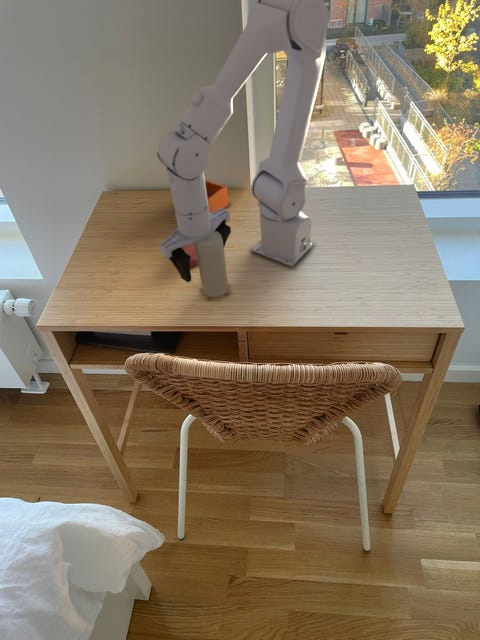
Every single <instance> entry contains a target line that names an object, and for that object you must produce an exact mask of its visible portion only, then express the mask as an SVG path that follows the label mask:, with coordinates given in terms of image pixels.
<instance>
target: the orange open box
mask: <svg viewBox="0 0 480 640" xmlns="http://www.w3.org/2000/svg"><path fill="white" fill-rule="evenodd" d="M205 185H206V192H207V199H208V206H209V213H211V212H214V211H217V210H219V209H221V208H223V209H225V208H226V207H227V206H229V195H228V186H226V185H223V184H220V183H217V182H214V181H210V180H209V179H208V180H207V179H205Z"/></svg>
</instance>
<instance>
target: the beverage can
mask: <svg viewBox="0 0 480 640" xmlns="http://www.w3.org/2000/svg"><path fill="white" fill-rule="evenodd" d="M195 248H196V254H197V260H198V264H197V265H198V270H199V277H200V281H201V283H200V284H201V287H202V292H203V294H204V295H206V296H207V297H210V298H220V297H223V296H224V295H225V294H226V293H227V292H228V291H229V280H228V272H227V264H226V257H225V256H226V255H225V247H224V246H223V239H222V236H221V234H220V233H219V232H217V231H214V232H213V233H212V234H211V235H210V236H209V237H207V238H206V239H204V240H202V241H198V242H196V243H195Z"/></svg>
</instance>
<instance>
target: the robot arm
mask: <svg viewBox="0 0 480 640" xmlns="http://www.w3.org/2000/svg"><path fill="white" fill-rule="evenodd" d="M330 19H331V12H330V10H329V8H328V6H327V4H326V2H325V0H256V1H254V3H253V4H252V5H251V6H250V7H249V10H248V14H247V21H246V25H245V27H244V29H243V31H242V33H241V34H240V36H239V38H238V39H237V41H236V44H235V45H234V47H233V48H232V49H231V50H232V51H231V52H230V54H229V55H228V58H227V59H226V61H225V62H224V64H223V66H222V68H221V70H220V71H219V73H218V75H217V77H216V79H215V81H214V83H213V84H210V85H207V86H203V87H201V88H200V89H199V91H198V92H194V94H193V95H192V97H191V98H190V101H191V104H190V105H189V106H188V108H187V110H186V111H185V113H184V114H183V115H182V118H181V119H180V121H179V123H177V124H175V126H174V127H173V130H171V131H170V132H167V133H166V134H165V135H164V136H163V137H162V138H161V140H160V142H159V145H158V148H159V149H158V151H157V152H156V156H157V159H158V161H160V163H162V164H163V165H164V166H165V167H166V173H167V174H166V175H167V179H168V185H169V191H170V195H171V201H172V206H173V211H174V216H175V219H176V225H177V227H176V228H175V229H174V230H173V231H172V232H171V234H170V235H169V236H168V237H167V238H166V239H165V240H164V241H163V242H161V243H160V244H158V248H159V253H160V255H161V256H162V257H164V258H165V259H167V260H168V259H169V260H170V262H171V263H172V264H173V266H174V267H175V268H176V270H177V272H178V274H179V276H180V278H181V280H182V279H183V281H185V282H186V283H190V282H192V274H191V267H190V258H191V256H190V255H188V254H186V253H185V251H184V250H183V249H182V247H183V246H186V245H190V244H193V243H196V242H198V241H202V240H204V239H206V238H207V237H209V236H210V235H211V234H212V233H213V232H214V231H217V232H219V233H220V234H221V236H222V239H223V246H224V248H225V246H226V244H227V241H228V238H229V236H230V235H231V233H232V228H231V226H230V225H228V224H227V223H229V222H230V221H231V216H230V211H228V210H227V209H225V208H221V209H219V210H217V211H214V212H211V213H209V206H208V199H207V192H206V185H205V180H206V179H205V170H206V169H208V166H209V162H210V152H211V151H212V147H213V143H214V142H215V141H216V139H217V138H218V136H219V135H220V133H221V132H222V130H223V128H224V127H225V126H226V124H227V123H228V121H229V119H230V118H231V116H232V115H233V113H234V109H233V108H234V106H233V99H234V98H235V97H236V95H237V94H238V93H239V92H240V90H241V89H242V88H243V86H244V85H245V84H246V82H247V81H248V79H250V77H251V75H253V73H254V72H255V70H256V69H257V68H258V67H259V65H260V63H261V62H262V61H263V60H264V59H265V57H266V56H267V55H271V54H275V53H279V52H283V53H284V54H285V56H286V57H287V59H288V63H287V67H286V68H287V69H286V73H285V76H284V77H285V78H284V83H283V88H282V93H281V97H280V101H279V102H280V103H279V107H278V113H277V117H276V123H275V127H274V133H273V137H272V142H271V146H270V152H269V157H267V158H265V159H263V160H262V161H260V162H259V165H258V168H257V172H256V174H255V176H254V177H253V179H252V181H251V186H250V191H251V194H252V196H253V198H254V199H256V200H257V205H258V207H259V222H260V241H259V243H257V244H256V245H255V246H254V247H253V248H252V252H254V253H256V254H258V255H261V256H264V257H267V258H269V259H271V260H274V261H276V262H279V263H282V264H284V265H287V266H289V267H293V266H295V264H297V263H298V261H299V260H301V258H302V257H303V256H304V255H305V254H306V253H307V252H308V251H309V250H310V249H311V248H312V247H313V243H312V242H311V241H312V240H311V239H312V220H311V218H310V216H308V215H305V214H304V213H303V212H302V211H303V209H304V207H305V206H306V203H307V191H306V187H307V184H308V179H307V177H306V174H305V172H304V169H303V167H302V165H301V161H302V160H301V159H302V156H303V151H304V148H305V143H306V139H307V134H308V130H309V125H310V122H311V118H312V114H313V110H314V106H315V102H316V97H317V93H318V89H319V84H320V80H321V77H322V72H323V67H324V63H325V61H326V55H327V39H326V37H327V36H326V35H327V31H328V27H329V22H330Z"/></svg>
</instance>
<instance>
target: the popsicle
mask: <svg viewBox="0 0 480 640" xmlns="http://www.w3.org/2000/svg"><path fill="white" fill-rule="evenodd" d="M182 249H183V250H184V251H185V253H186V254H188V255H190V256H191V258H190V268H192V267H195V266H197V265H198V260H197V254H196V248H195V243H193V244H190V245H186V246H183V247H182Z"/></svg>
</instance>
